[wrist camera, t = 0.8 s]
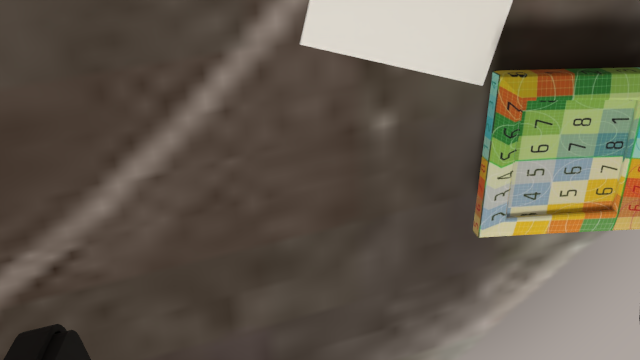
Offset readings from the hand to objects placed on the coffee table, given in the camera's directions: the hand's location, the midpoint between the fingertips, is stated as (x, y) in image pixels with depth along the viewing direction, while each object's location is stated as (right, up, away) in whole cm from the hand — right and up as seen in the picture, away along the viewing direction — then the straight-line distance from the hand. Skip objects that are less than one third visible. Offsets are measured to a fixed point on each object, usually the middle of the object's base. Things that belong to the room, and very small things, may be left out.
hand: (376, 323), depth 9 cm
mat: (+5, +15, +27) cm, 31 cm away
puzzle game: (+20, +6, +34) cm, 39 cm away
